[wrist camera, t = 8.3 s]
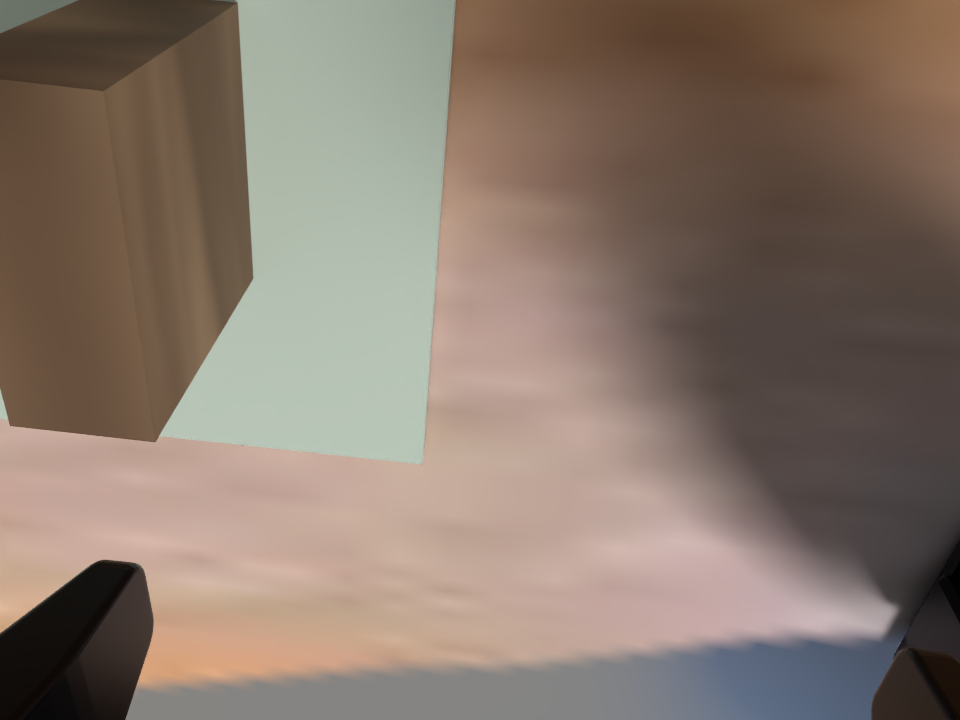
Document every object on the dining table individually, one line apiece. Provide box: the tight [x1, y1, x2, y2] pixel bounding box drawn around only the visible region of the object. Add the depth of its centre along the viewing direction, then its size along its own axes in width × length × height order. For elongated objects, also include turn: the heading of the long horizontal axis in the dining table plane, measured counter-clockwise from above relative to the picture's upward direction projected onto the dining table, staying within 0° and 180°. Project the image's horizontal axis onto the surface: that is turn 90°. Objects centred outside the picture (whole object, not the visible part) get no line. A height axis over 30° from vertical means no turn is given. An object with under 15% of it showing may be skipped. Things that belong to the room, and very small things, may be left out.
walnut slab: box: [0, 0, 253, 442], centre depth 15 cm, size 2×6×6 cm, turn 174°
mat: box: [0, 0, 456, 464], centre depth 18 cm, size 14×16×1 cm
